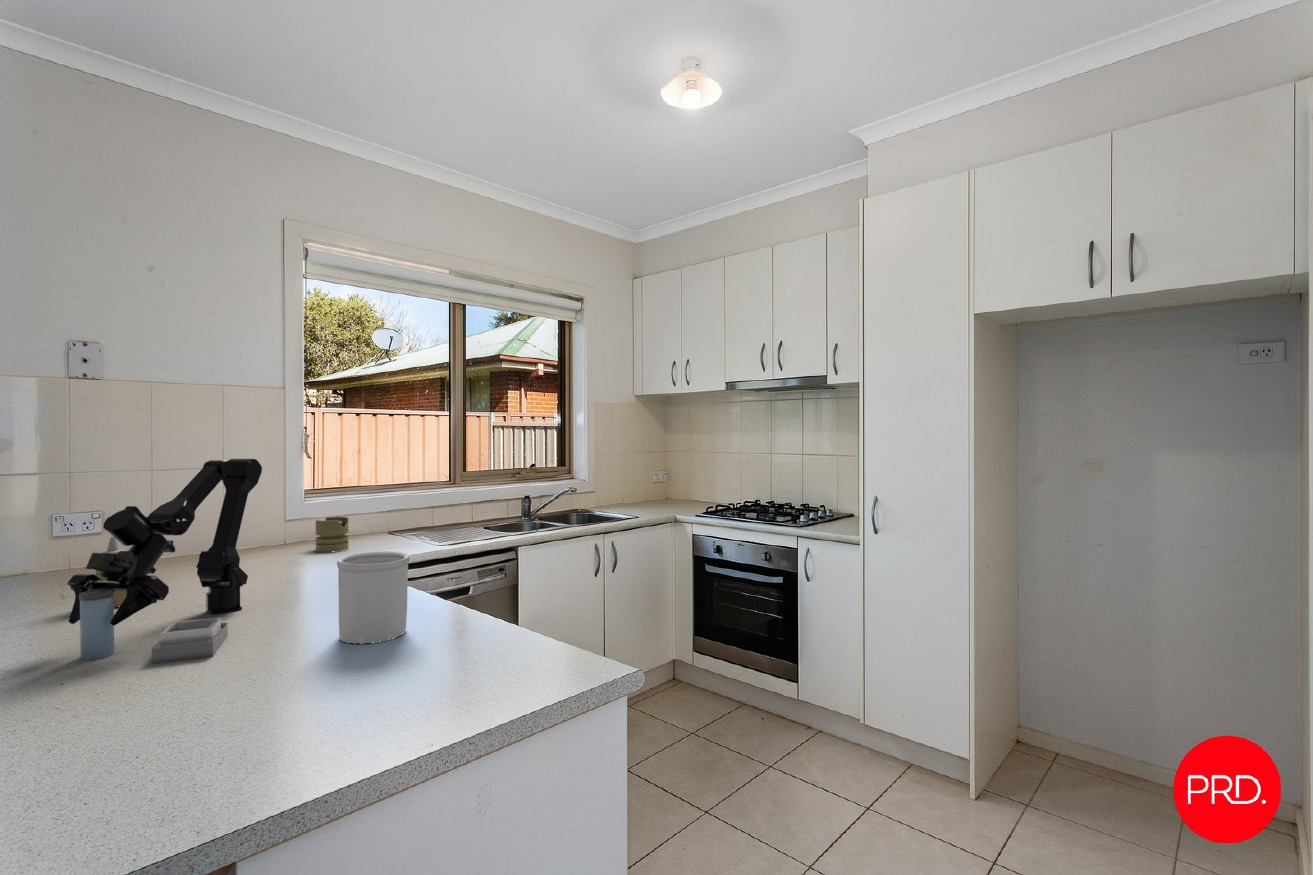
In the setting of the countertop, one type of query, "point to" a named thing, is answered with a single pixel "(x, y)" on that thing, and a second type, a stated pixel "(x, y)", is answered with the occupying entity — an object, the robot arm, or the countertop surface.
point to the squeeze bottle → (119, 595)
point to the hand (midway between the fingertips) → (91, 623)
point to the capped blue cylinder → (96, 623)
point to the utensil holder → (372, 596)
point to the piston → (332, 534)
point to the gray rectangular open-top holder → (190, 640)
